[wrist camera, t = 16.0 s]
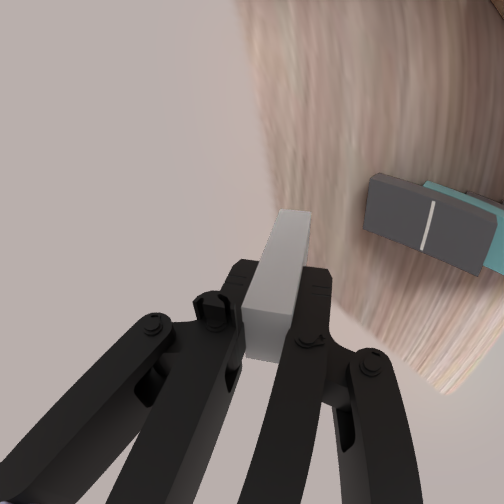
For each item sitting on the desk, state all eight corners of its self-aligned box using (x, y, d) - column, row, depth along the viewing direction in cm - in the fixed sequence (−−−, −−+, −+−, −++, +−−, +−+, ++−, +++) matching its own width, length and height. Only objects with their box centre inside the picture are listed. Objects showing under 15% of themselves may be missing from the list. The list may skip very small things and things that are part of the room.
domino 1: (369, 178, 22) (497, 224, 15) (378, 172, 23) (496, 214, 16) (362, 229, 25) (477, 277, 18) (372, 220, 26) (478, 263, 19)
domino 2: (422, 186, 21) (534, 233, 14) (427, 180, 22) (530, 223, 15) (411, 234, 23) (514, 281, 16) (417, 225, 25) (513, 268, 18)
